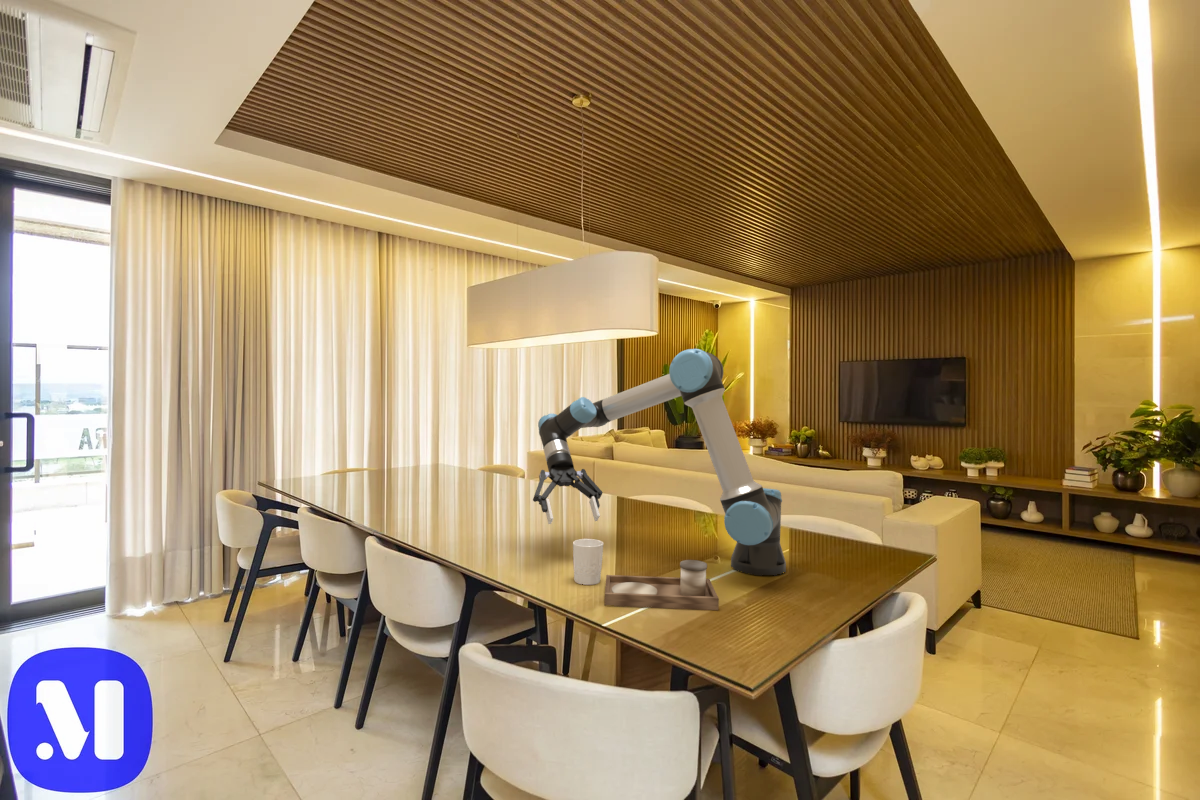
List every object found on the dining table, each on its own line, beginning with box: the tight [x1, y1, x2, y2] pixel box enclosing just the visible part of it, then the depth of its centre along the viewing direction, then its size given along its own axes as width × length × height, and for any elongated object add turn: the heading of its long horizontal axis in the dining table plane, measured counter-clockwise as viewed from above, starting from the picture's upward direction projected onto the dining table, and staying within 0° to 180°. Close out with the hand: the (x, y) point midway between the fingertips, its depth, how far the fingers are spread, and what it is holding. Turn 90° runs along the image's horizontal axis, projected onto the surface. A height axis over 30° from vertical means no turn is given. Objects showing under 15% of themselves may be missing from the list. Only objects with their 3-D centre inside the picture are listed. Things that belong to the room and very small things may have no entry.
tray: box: [604, 559, 720, 611], centre depth 138 cm, size 26×14×8 cm, turn 88°
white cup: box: [572, 538, 604, 586], centre depth 149 cm, size 8×8×10 cm
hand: (574, 519), depth 158 cm, fingers open, 13 cm apart
